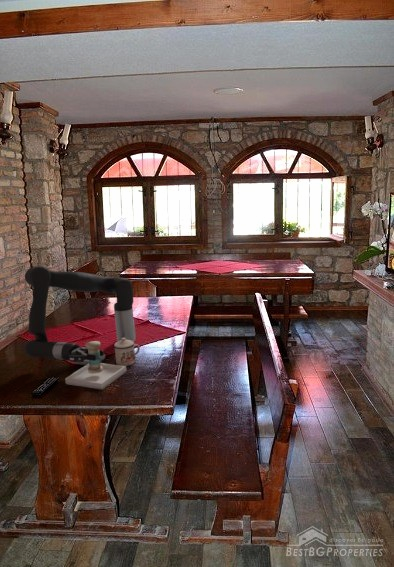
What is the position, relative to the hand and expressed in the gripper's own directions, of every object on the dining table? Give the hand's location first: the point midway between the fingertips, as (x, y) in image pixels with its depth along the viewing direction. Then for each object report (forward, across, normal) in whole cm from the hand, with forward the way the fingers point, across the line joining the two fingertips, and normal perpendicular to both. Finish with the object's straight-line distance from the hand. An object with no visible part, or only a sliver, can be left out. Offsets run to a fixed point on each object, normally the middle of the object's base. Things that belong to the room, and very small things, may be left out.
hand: (99, 355), depth 187 cm
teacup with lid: (+2, +19, +10) cm, 22 cm away
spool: (-3, 0, +7) cm, 7 cm away
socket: (-16, +15, +10) cm, 25 cm away
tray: (-2, 0, +10) cm, 10 cm away
